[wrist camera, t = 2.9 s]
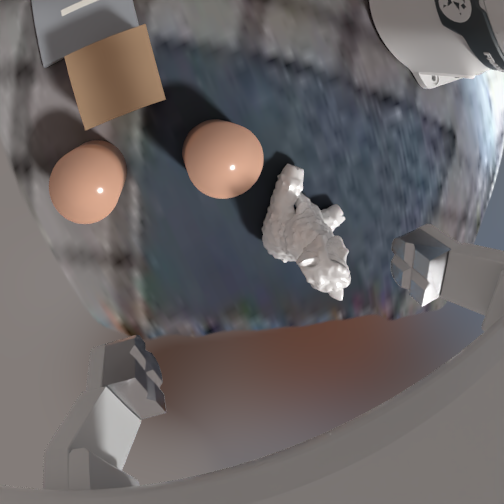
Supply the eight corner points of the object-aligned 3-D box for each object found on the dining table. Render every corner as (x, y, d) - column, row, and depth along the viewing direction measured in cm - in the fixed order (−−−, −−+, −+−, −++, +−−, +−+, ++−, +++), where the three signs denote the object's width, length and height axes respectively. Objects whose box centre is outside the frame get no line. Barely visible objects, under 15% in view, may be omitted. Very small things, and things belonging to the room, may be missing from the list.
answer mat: (122, -46, 14) (121, -49, 13) (139, 27, 19) (138, 25, 18) (32, -7, 13) (30, -8, 12) (46, 67, 18) (43, 67, 17)
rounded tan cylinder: (238, 111, 25) (254, 114, 21) (252, 171, 29) (270, 185, 24) (174, 130, 25) (177, 136, 20) (192, 190, 28) (199, 208, 24)
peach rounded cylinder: (114, 129, 23) (104, 135, 19) (136, 189, 26) (131, 207, 22) (57, 156, 22) (38, 168, 18) (80, 212, 25) (67, 234, 21)
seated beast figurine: (341, 210, 34) (410, 262, 24) (292, 266, 35) (344, 334, 25) (288, 157, 29) (358, 196, 19) (232, 222, 31) (272, 292, 21)
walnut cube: (148, 39, 20) (145, 24, 15) (164, 99, 23) (165, 99, 18) (84, 64, 19) (64, 56, 14) (101, 123, 22) (85, 130, 17)
